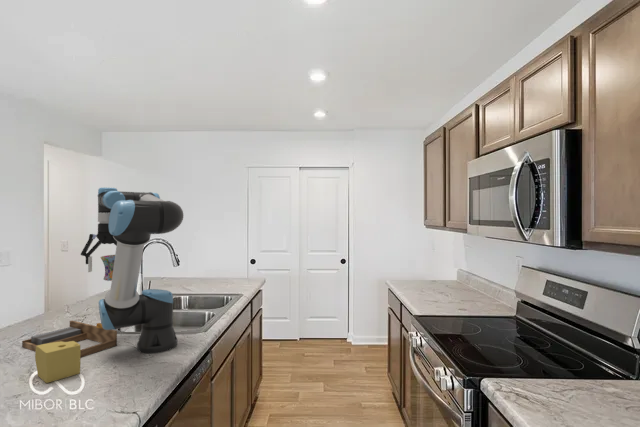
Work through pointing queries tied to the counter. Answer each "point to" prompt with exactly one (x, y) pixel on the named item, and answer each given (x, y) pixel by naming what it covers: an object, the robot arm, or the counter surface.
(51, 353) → the cheese
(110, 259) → the mug
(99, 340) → the rack
